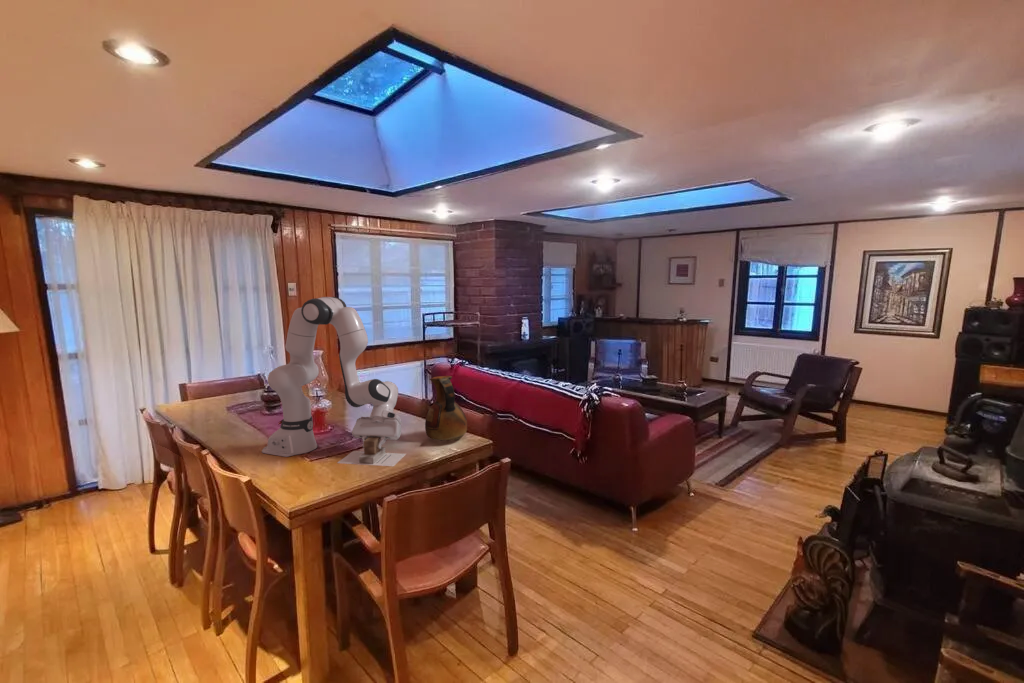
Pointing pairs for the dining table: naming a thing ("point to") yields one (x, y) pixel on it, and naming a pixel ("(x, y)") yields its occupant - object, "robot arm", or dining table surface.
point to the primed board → (385, 460)
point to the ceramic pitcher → (445, 413)
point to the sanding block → (371, 451)
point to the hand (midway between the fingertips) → (371, 447)
